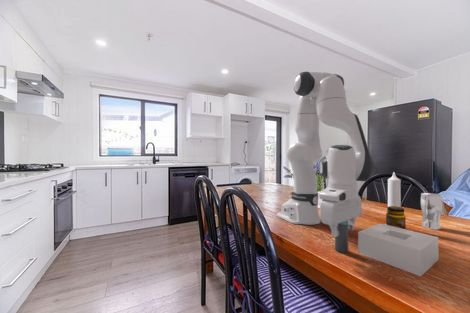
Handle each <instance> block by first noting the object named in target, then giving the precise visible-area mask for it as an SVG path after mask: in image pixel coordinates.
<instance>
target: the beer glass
mask: <svg viewBox="0 0 470 313" xmlns="http://www.w3.org/2000/svg"><path fill="white" fill-rule="evenodd" d="M442 198H443V197H442V194H439V193H431V192H421V193H420V208H421V214H422V223H421V227H422V228H424V229H427V230H434V231H439V230H441V229H442V228H441V224H440V220H441V214H442V209H443V199H442Z"/></svg>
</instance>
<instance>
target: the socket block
mask: <svg viewBox="0 0 470 313" xmlns="http://www.w3.org/2000/svg"><path fill="white" fill-rule="evenodd" d="M385 224H386V223H385ZM385 224H384V223H377V224H374V225H372V226H369V227H367V228H365V229H362V230H359V231H358V232H357V253H358V254H360V255H363V256H366V257H368V258H371V259H374V260H376V261H379V262H381V263H384V264H386V265H389V266H392V267H395V268H397V269H400V270H402V271H405V272H408V273H410V274H413V275H416V276H418V277H422V276H423V275H424V274H425V273H427V271H428V270H429V269H430V268H431V267H432V266H433V265H435V264H436V263H437V262H438V261H439V236H434V235H430V234H426V233H423V232H418V231H415V230H414V231H413V230H410V229H407V228H406V229H402V228H398V227H394V226H389V225H385Z"/></svg>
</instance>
